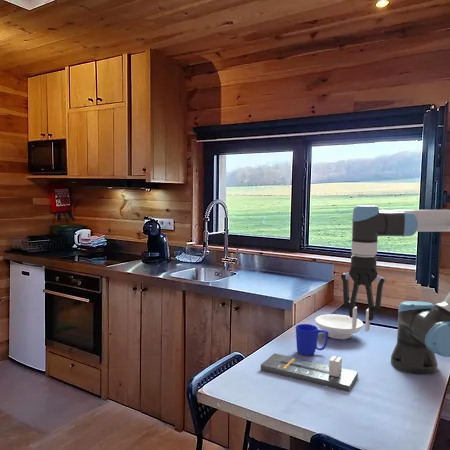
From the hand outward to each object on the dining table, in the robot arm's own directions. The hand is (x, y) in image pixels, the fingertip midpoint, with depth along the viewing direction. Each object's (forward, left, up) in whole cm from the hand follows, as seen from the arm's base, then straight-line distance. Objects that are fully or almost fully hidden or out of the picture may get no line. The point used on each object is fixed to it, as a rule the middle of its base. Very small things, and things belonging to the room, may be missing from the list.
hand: (360, 328), depth 134 cm
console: (+17, 0, -19) cm, 25 cm away
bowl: (+18, -42, -19) cm, 49 cm away
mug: (+22, -18, -19) cm, 34 cm away
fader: (+7, 0, -16) cm, 18 cm away
